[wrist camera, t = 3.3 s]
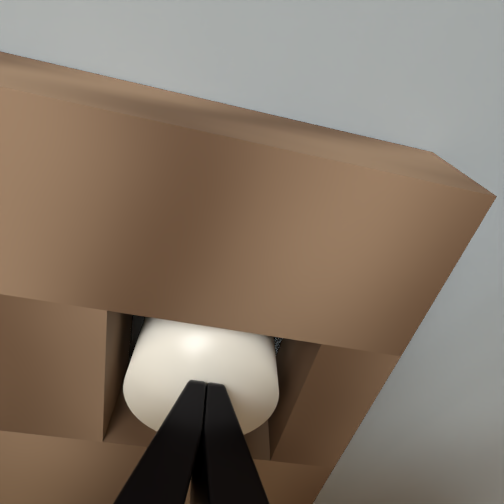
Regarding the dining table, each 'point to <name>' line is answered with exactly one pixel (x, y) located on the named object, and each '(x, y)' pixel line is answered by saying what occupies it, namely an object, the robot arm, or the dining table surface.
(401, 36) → the dining table surface
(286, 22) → the dining table surface
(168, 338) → the white egg
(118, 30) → the dining table surface
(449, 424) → the dining table surface
